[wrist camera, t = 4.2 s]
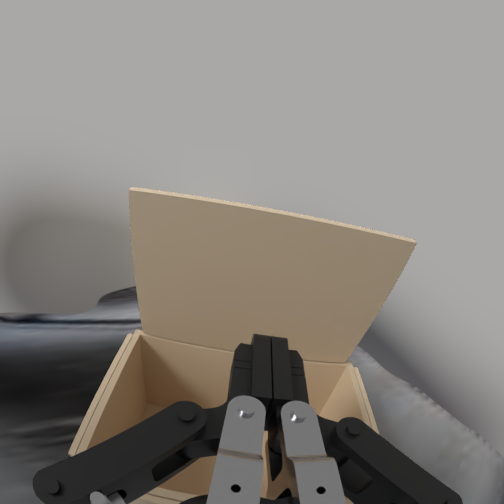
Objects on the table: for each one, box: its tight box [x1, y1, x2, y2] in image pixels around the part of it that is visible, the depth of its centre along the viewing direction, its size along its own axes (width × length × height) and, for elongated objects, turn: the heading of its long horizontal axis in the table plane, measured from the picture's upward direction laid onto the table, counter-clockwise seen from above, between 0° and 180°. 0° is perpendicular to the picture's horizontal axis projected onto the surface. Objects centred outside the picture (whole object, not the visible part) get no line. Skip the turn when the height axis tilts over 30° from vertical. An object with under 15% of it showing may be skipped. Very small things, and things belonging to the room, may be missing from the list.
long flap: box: [129, 187, 416, 363], centre depth 18 cm, size 16×1×12 cm, turn 88°
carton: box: [68, 329, 379, 504], centre depth 18 cm, size 19×14×10 cm
